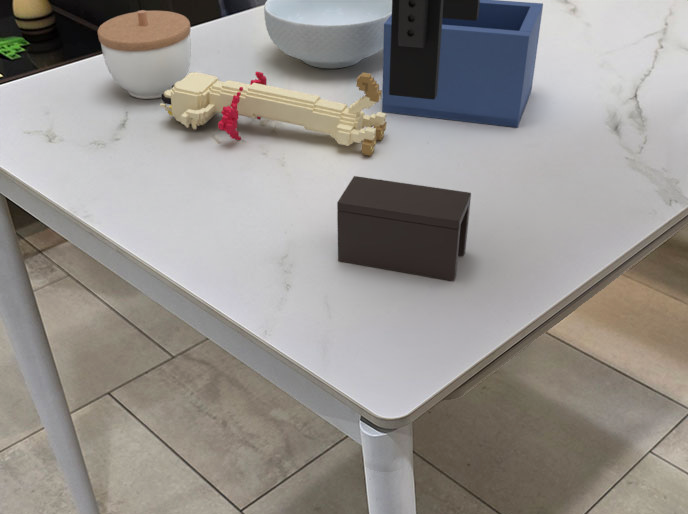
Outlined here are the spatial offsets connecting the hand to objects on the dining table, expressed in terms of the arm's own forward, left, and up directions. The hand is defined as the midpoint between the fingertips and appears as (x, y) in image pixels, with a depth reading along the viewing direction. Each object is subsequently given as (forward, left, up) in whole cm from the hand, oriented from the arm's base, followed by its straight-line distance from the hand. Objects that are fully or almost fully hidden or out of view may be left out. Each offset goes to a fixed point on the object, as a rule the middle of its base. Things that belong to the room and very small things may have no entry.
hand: (437, 53), depth 55 cm
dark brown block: (+3, -6, -20) cm, 21 cm away
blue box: (+5, -38, -20) cm, 43 cm away
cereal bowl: (+23, -47, -21) cm, 56 cm away
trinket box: (+41, -32, -21) cm, 56 cm away
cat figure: (+23, -25, -21) cm, 40 cm away
